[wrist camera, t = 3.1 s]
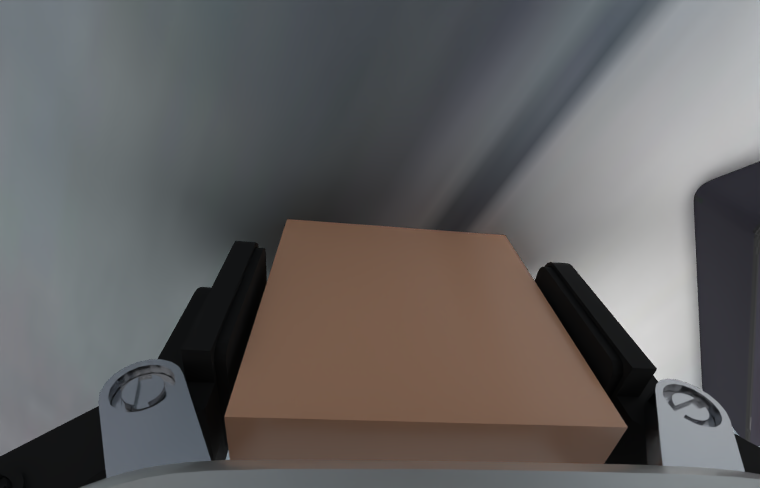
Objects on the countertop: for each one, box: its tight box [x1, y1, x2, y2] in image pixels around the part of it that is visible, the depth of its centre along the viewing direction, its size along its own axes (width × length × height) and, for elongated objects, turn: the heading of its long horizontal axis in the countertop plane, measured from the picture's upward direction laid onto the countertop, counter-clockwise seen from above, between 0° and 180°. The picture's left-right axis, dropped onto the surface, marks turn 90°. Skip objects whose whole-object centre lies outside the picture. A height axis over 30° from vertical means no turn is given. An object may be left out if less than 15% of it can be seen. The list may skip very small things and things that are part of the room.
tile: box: [224, 219, 628, 464], centre depth 10 cm, size 2×7×7 cm, turn 84°
